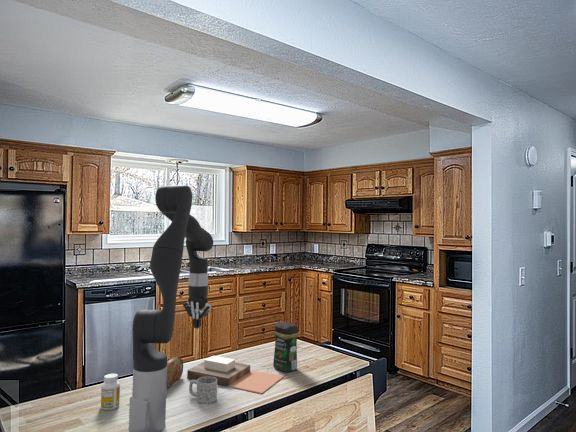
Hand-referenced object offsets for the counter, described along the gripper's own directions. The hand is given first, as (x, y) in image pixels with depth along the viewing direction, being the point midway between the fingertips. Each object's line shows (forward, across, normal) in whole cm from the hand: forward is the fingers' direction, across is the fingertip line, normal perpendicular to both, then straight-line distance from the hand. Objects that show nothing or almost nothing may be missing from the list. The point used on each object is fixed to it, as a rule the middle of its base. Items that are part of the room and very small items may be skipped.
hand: (196, 328), depth 169 cm
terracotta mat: (+17, +27, +1) cm, 32 cm away
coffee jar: (+17, +30, +19) cm, 39 cm away
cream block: (+14, +11, 0) cm, 18 cm away
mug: (+17, +18, -21) cm, 33 cm away
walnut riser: (+17, +11, 0) cm, 20 cm away
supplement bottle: (+17, -4, -39) cm, 43 cm away
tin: (+17, 0, -15) cm, 23 cm away
